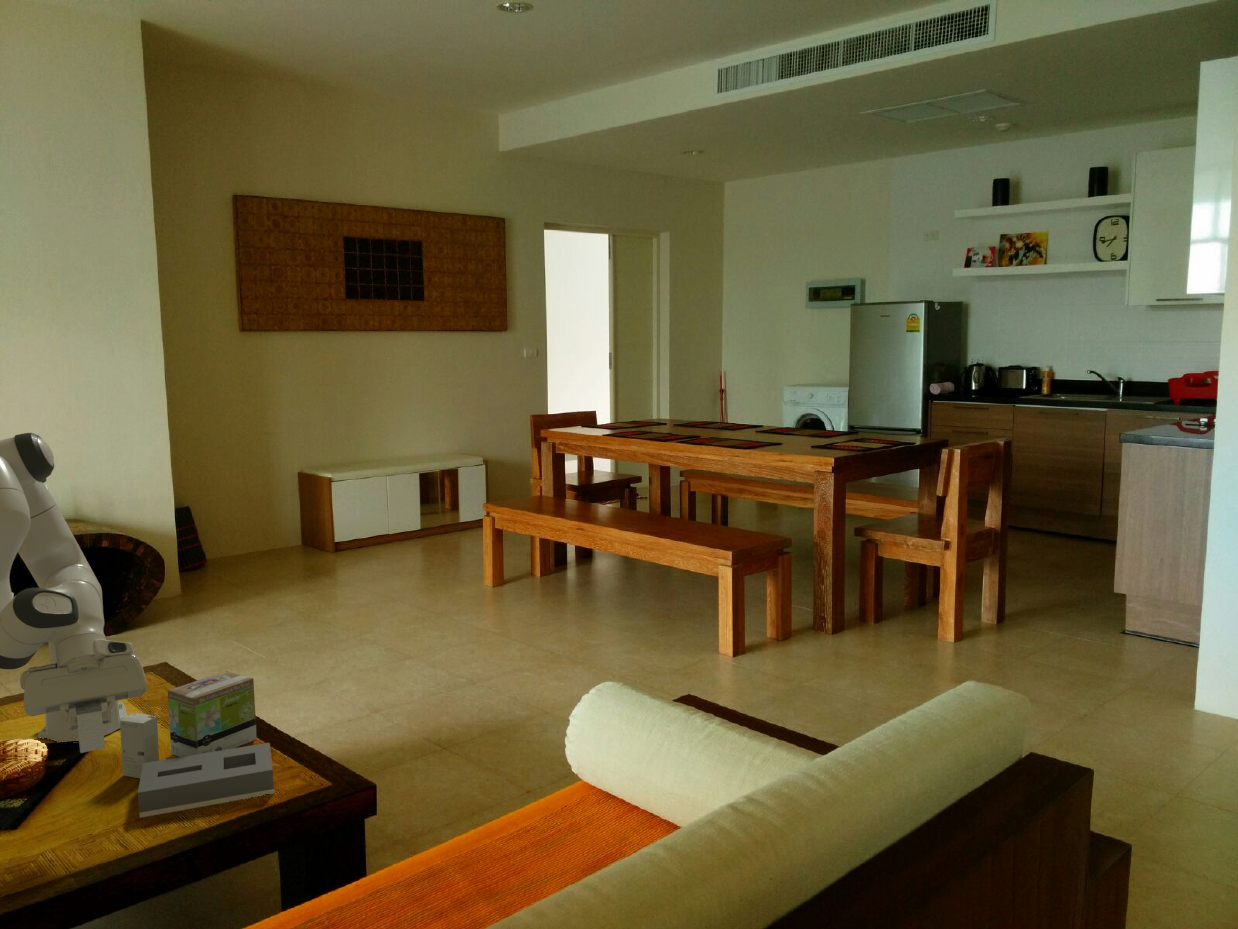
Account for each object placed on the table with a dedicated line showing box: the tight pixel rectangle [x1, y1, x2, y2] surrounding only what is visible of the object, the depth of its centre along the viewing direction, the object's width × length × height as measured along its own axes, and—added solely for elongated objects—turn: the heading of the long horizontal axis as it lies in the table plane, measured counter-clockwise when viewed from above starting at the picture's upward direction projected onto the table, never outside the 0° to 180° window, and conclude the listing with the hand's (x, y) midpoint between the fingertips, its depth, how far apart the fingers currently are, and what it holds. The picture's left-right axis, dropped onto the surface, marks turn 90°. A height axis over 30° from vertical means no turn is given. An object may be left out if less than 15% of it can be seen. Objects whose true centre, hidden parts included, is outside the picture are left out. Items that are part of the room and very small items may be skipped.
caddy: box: [137, 742, 275, 819], centre depth 196 cm, size 14×24×5 cm, turn 112°
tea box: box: [167, 670, 257, 757], centre depth 216 cm, size 15×10×15 cm, turn 148°
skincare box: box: [120, 712, 160, 779], centre depth 203 cm, size 6×4×12 cm
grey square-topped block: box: [75, 700, 106, 754], centre depth 181 cm, size 4×4×8 cm
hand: (90, 725), depth 181 cm, fingers closed on grey square-topped block, 4 cm apart
